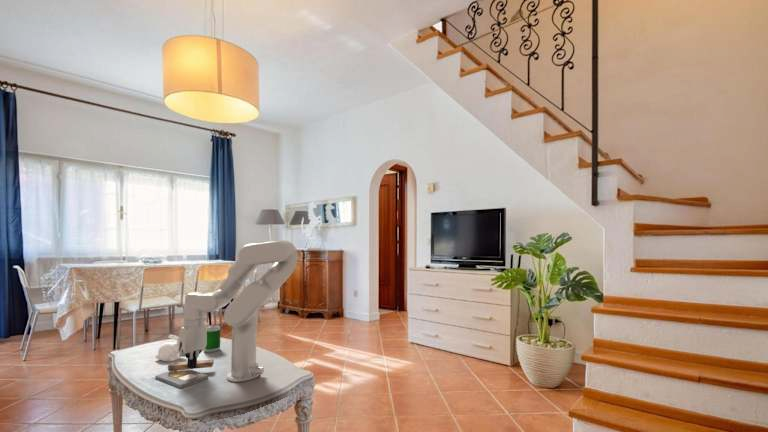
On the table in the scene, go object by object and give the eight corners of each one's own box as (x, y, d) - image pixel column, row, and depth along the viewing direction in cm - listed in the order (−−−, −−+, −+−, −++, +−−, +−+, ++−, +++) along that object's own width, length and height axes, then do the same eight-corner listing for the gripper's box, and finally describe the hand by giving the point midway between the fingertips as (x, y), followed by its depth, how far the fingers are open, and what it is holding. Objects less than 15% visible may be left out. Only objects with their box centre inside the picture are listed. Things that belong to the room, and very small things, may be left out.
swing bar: (213, 364, 152) (213, 359, 152) (211, 367, 148) (211, 362, 148) (169, 367, 147) (169, 363, 147) (166, 371, 144) (166, 366, 144)
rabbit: (185, 354, 170) (186, 329, 171) (183, 361, 162) (184, 334, 162) (156, 358, 166) (157, 332, 166) (152, 365, 157) (153, 337, 158)
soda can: (223, 348, 180) (223, 324, 180) (213, 353, 172) (214, 328, 173) (210, 347, 181) (210, 324, 182) (199, 352, 174) (200, 327, 174)
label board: (208, 378, 143) (208, 372, 143) (180, 388, 133) (180, 382, 133) (182, 369, 152) (182, 364, 152) (155, 378, 142) (155, 372, 142)
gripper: (205, 317, 154) (203, 360, 153) (170, 325, 141) (167, 371, 140) (216, 320, 150) (214, 364, 149) (181, 327, 137) (178, 376, 136)
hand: (191, 367), depth 145 cm, fingers closed
